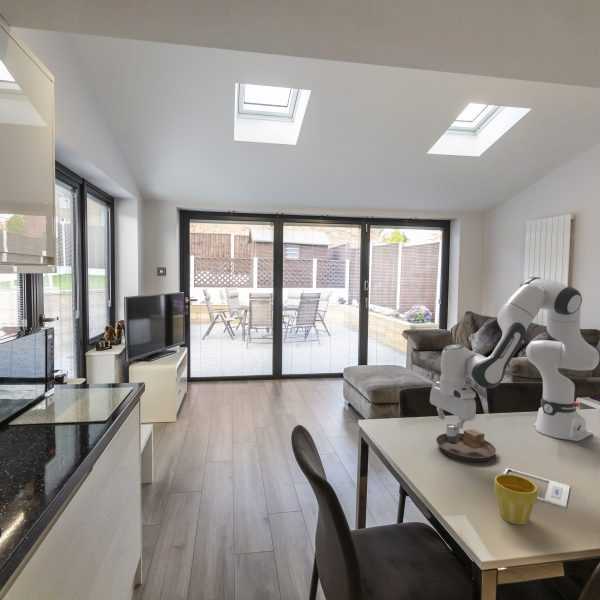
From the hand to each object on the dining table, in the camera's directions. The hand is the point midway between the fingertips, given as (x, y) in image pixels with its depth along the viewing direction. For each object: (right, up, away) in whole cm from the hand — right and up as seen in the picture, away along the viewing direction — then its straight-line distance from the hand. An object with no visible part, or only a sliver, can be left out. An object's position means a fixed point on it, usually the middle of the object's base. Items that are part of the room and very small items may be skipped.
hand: (450, 423), depth 152 cm
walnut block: (+7, -7, -4) cm, 11 cm away
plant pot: (+1, -13, -43) cm, 45 cm away
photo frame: (+16, -12, -27) cm, 34 cm away
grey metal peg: (0, -7, -1) cm, 7 cm away
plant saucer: (+5, -11, -2) cm, 12 cm away
